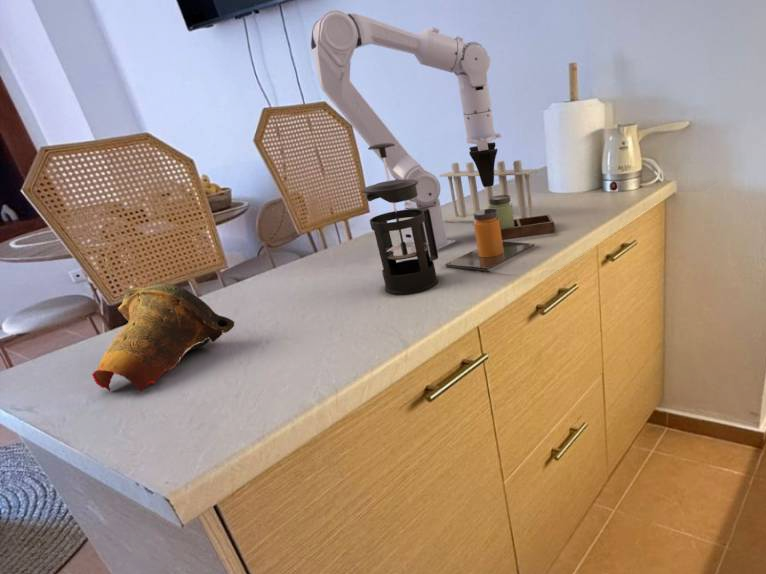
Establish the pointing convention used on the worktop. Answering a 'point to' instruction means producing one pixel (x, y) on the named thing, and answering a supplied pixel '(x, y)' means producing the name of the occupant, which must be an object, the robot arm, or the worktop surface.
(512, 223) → the sage jar
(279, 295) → the worktop surface
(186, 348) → the pot
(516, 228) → the jar stand
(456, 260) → the slate board
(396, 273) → the french press
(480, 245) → the honey jar
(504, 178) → the test tube rack
